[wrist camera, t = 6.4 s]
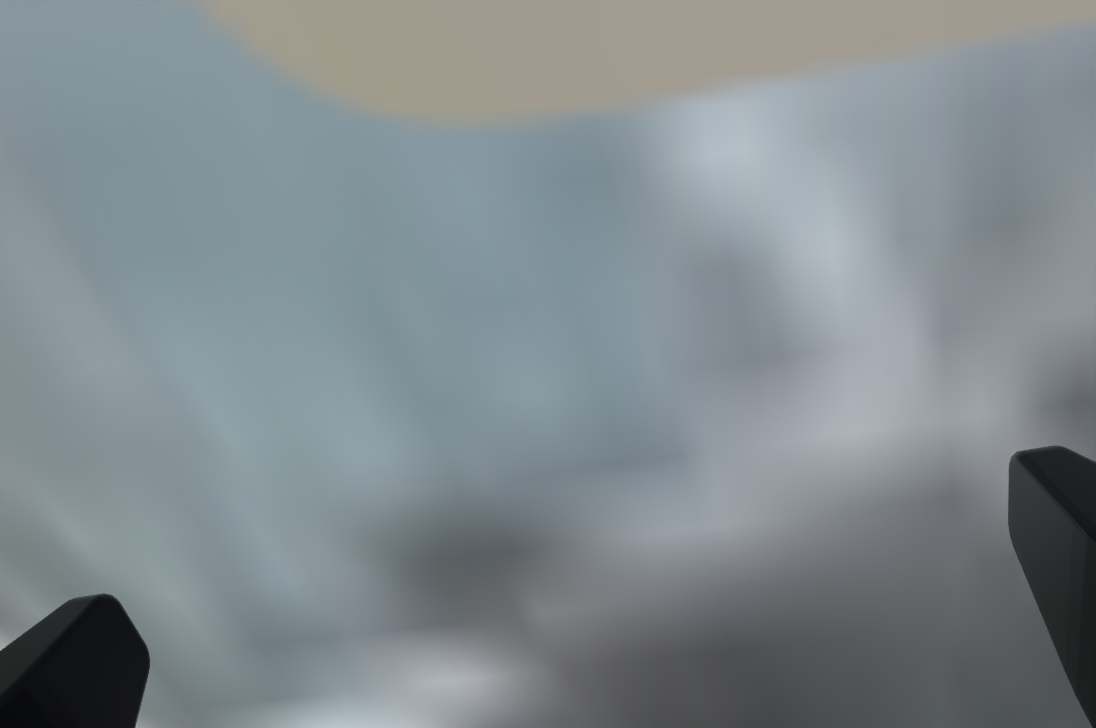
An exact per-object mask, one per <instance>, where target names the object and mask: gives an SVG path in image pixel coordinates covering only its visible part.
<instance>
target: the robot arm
mask: <svg viewBox="0 0 1096 728" xmlns="http://www.w3.org/2000/svg"><path fill="white" fill-rule="evenodd" d="M1008 525H1009V532H1010V537H1011V540H1012V544H1013V547H1014V549H1015V552H1016V554H1017V557H1018V559H1019V562H1020V564H1021V566H1022V569H1023V571H1024V574H1025V576H1026V578H1027V581H1028V583H1029V586H1030V588H1031V590H1032V593H1033V595H1034V598H1035V600H1036V603H1037V605H1038V607H1039V610H1040V612H1041V615H1042V617H1043V619H1044V622H1045V624H1046V627H1047V629H1048V631H1049V634H1050V636H1051V639H1052V641H1053V644H1054V646H1055V648H1056V651H1057V653H1058V656H1059V658H1060V660H1061V663H1062V665H1063V668H1064V670H1065V672H1066V675H1067V677H1068V679H1069V681H1070V684H1071V686H1072V688H1073V691H1074V693H1075V695H1076V697H1077V699H1078V701H1079V703H1080V705H1081V707H1082V709H1083V710H1084V712H1085V714H1086V716H1087V718H1088V720H1089V722H1090V724H1091V726H1092V727H1093V728H1096V462H1094V461H1092V460H1090V459H1088V458H1086V457H1084V456H1082V455H1080V454H1078V453H1076V452H1074V451H1072V450H1070V449H1068V448H1065V447H1062V446H1048V447H1042V448H1035V449H1029V450H1023V451H1018V452H1016V453H1015V454H1014V455H1013V456H1012V457H1011V460H1010V464H1009V501H1008ZM149 669H150V657H149V652H148V648H147V646H146V644H145V642H144V640H143V639H142V637H141V636H140V634H139V632H138V631H137V629H136V628H135V626H134V624H133V623H132V621H131V619H130V618H129V616H128V615H127V613H126V611H125V610H124V608H123V606H122V605H121V603H120V602H119V601H118V599H116V598H115V597H113V596H112V595H110V594H97V595H91V596H84V597H78V598H74V599H71V600H69V601H67V602H66V603H64V604H63V605H62V606H60V607H59V608H58V609H56V610H55V611H53V612H52V613H51V614H49V615H48V616H47V617H45V618H44V619H43V620H41V621H40V622H39V623H37V624H36V625H35V626H33V627H32V628H31V629H29V630H28V631H27V632H25V633H24V634H22V635H21V636H20V637H18V638H17V639H16V640H14V641H13V642H12V643H10V644H9V645H8V646H6V647H5V648H4V649H2V650H1V651H0V728H135V727H136V722H137V718H138V714H139V710H140V706H141V702H142V698H143V694H144V690H145V686H146V682H147V678H148V674H149Z"/></svg>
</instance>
